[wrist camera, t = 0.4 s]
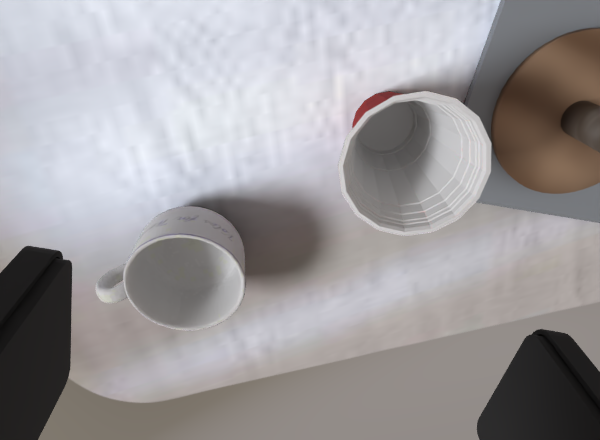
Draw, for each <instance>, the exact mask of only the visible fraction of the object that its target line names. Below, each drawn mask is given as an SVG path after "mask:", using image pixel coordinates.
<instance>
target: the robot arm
mask: <svg viewBox="0 0 600 440" xmlns="http://www.w3.org/2000/svg"><path fill="white" fill-rule="evenodd" d="M71 297H72V263H71V261H69V260H63V256H62V253H61V252H60V251H57V250H51V249H45V248H39V247H32V246H26V247H24V248H23V249H22V250H21V251H20V252H19V253H18V254H17V256H16V257H15V258H14V259H13V260H12V261H11V262H10V263H9V264H8V265H7V267H6V268H5V269H4V270H3V271H2V272H1V273H0V440H38V438H39V436H40V434H41V432H42V430H43V428H44V426H45V424H46V423H47V421H48V419H49V417H50V415H51V413H52V411H53V409H54V407H55V405H56V403H57V401H58V399H59V397H60V395H61V393H62V391H63V389H64V387H65V385H66V382H67V379H68V376H69V371H70V354H71ZM477 433H478V436H479V439H480V440H600V372H599V371H598V369H597V368H596V367H595V366H594V364H593V363H592V362H591V361H590V359H589V358H588V357H587V356H586V355H585V353H584V352H583V351H582V350H581V348H580V347H579V346H578V345H577V343H576V342H575V341H574V340H573V339H572V338H571V337H570V336H569V335H568V334H565V333H561V332H555V331H549V330H543V329H540V330H536V331H535V332H533V334H532V335H529V336H527V337H526V338H525V339H524V341H523V343H522V344H521V346H520V348H519V350H518V351H517V353H516V355H515V357H514V358H513V360H512V362H511V364H510V365H509V367H508V369H507V371H506V372H505V374H504V376H503V377H502V379H501V381H500V383H499V385H498V386H497V388H496V390H495V391H494V393H493V395H492V397H491V399H490V400H489V402H488V403H487V405H486V407H485V409H484V410H483V412H482V414H481V416H480V417H479V420H478V423H477Z"/></svg>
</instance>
